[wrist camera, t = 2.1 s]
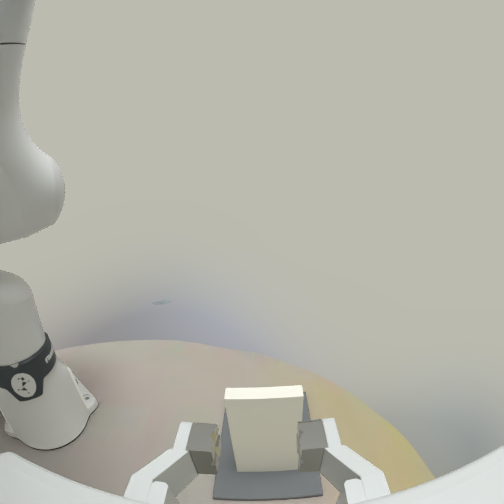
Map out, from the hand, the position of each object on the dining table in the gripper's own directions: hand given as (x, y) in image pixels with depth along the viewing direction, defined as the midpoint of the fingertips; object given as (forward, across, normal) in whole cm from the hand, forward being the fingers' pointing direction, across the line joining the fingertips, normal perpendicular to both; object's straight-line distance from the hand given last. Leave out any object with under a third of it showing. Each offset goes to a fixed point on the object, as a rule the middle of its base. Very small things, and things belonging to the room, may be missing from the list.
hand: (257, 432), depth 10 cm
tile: (+12, 0, +22) cm, 25 cm away
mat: (+17, 0, +22) cm, 28 cm away
